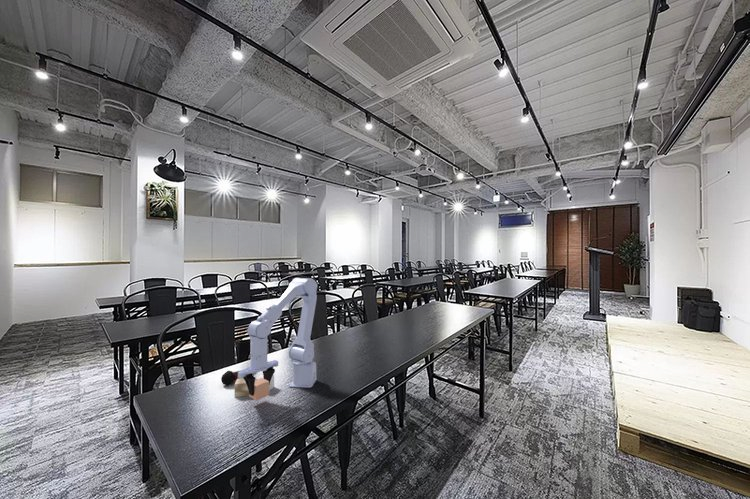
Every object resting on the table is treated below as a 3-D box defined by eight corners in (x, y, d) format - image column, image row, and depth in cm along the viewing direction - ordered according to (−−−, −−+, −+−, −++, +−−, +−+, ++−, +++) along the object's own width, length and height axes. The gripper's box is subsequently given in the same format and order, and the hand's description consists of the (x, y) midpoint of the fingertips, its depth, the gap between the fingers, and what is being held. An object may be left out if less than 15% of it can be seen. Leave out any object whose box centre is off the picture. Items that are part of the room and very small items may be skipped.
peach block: (261, 391, 107) (261, 377, 107) (269, 395, 104) (269, 381, 104) (248, 396, 103) (248, 382, 104) (255, 400, 100) (255, 386, 100)
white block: (274, 387, 117) (274, 374, 117) (266, 393, 112) (266, 380, 112) (263, 385, 118) (263, 373, 118) (255, 391, 113) (255, 378, 113)
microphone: (256, 375, 135) (218, 388, 117) (254, 363, 137) (217, 373, 119) (265, 373, 134) (228, 386, 115) (263, 361, 135) (226, 371, 117)
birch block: (250, 389, 114) (250, 377, 115) (248, 395, 110) (248, 382, 110) (237, 391, 113) (237, 378, 113) (234, 397, 108) (234, 384, 108)
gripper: (244, 362, 96) (244, 403, 96) (282, 351, 107) (282, 387, 107) (234, 357, 100) (234, 396, 100) (272, 347, 112) (272, 382, 111)
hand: (259, 391), depth 104 cm, fingers closed on peach block, 5 cm apart
